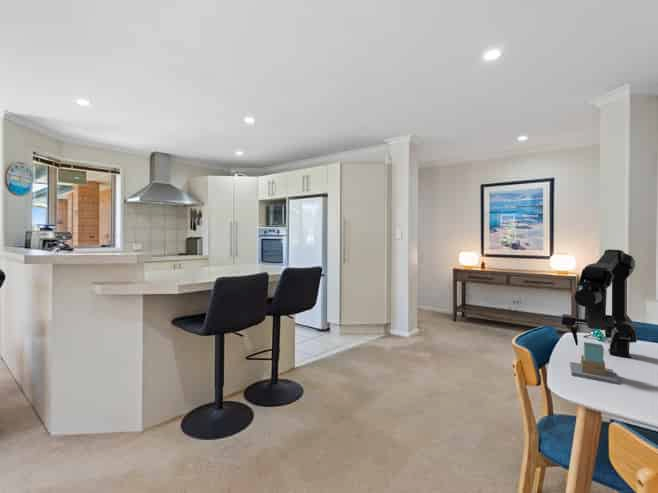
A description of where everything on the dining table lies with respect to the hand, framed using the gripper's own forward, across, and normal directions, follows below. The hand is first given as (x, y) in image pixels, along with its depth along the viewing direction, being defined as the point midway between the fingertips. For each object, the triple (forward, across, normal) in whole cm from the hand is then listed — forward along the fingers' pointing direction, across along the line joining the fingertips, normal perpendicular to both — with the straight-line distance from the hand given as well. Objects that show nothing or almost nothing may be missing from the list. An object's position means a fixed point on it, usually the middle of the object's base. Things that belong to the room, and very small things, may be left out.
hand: (593, 347), depth 117 cm
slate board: (+9, 0, 0) cm, 9 cm away
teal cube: (+4, 0, 0) cm, 4 cm away
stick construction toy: (+9, +5, +49) cm, 50 cm away
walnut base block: (+9, 0, 0) cm, 9 cm away
